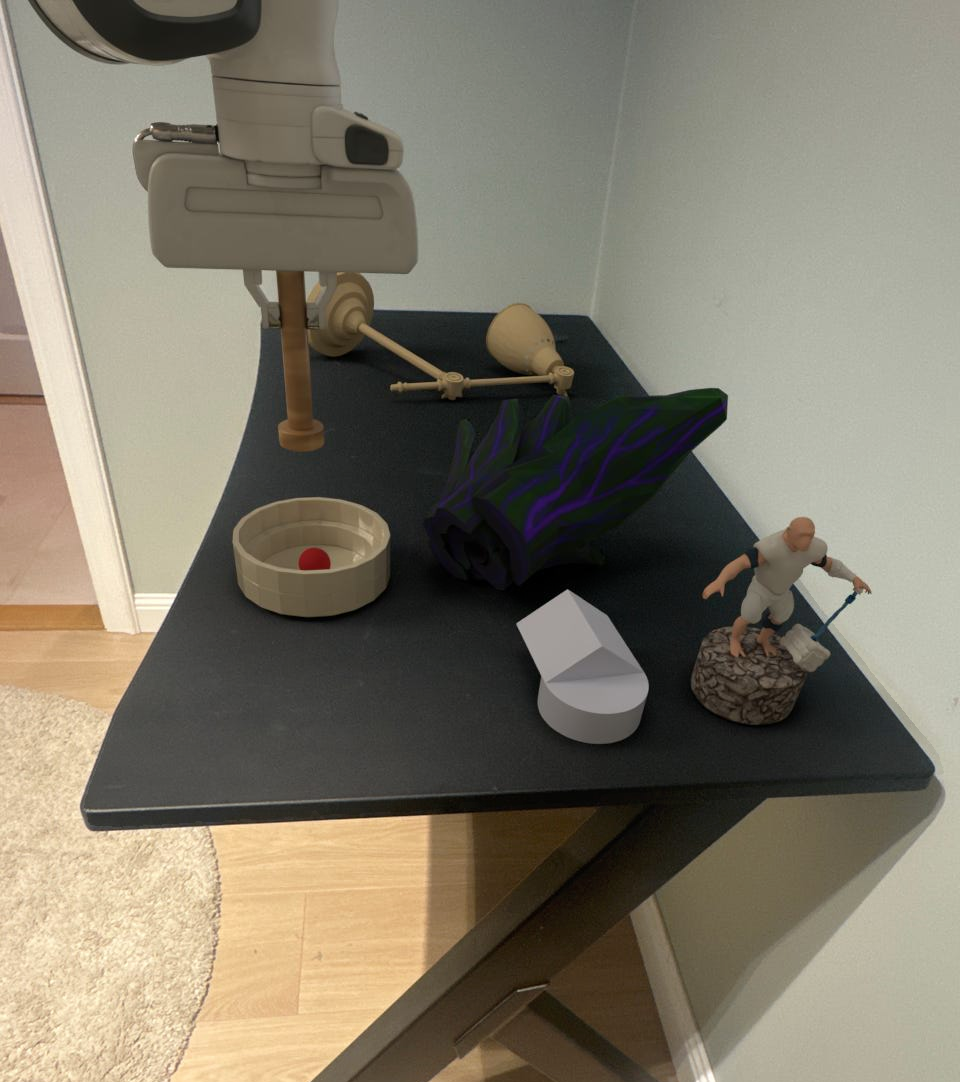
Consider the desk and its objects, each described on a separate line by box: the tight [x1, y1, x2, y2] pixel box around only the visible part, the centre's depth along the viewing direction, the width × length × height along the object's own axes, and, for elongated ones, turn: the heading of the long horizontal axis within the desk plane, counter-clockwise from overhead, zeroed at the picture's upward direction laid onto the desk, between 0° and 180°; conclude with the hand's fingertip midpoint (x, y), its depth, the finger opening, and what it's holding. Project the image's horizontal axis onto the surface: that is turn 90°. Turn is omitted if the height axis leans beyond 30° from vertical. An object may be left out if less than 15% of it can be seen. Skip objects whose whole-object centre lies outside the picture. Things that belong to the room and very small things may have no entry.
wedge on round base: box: [516, 589, 650, 745], centre depth 67 cm, size 9×7×13 cm
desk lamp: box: [306, 272, 575, 401], centre depth 131 cm, size 15×35×40 cm
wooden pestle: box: [275, 271, 325, 453], centre depth 66 cm, size 4×4×16 cm
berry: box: [298, 548, 331, 571], centre depth 79 cm, size 3×3×3 cm
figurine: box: [690, 516, 873, 726], centre depth 65 cm, size 15×9×18 cm, turn 99°
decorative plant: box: [422, 387, 729, 591], centre depth 83 cm, size 21×26×30 cm
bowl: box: [232, 496, 392, 618], centre depth 79 cm, size 15×15×6 cm
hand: (294, 327), depth 65 cm, fingers closed on wooden pestle, 2 cm apart
